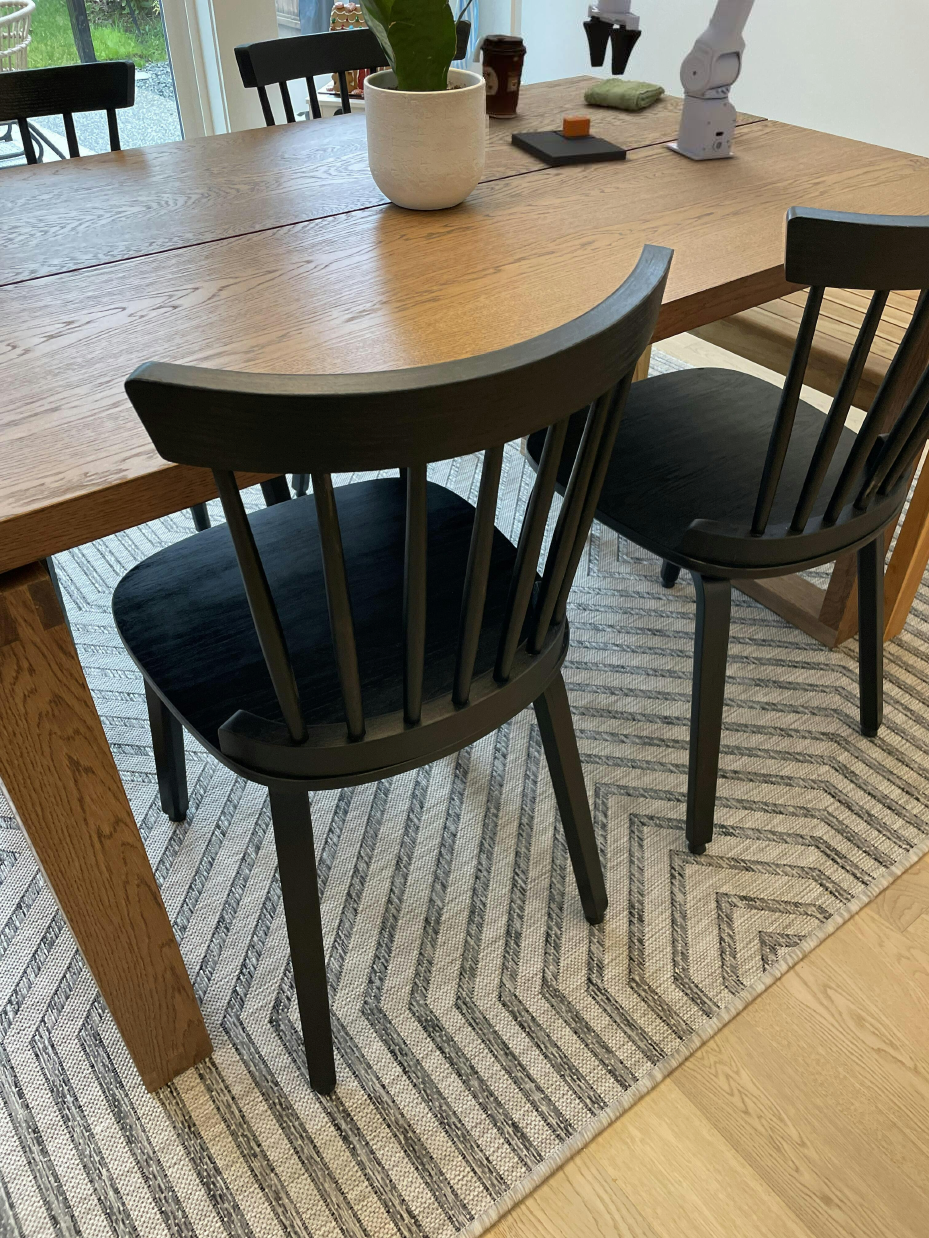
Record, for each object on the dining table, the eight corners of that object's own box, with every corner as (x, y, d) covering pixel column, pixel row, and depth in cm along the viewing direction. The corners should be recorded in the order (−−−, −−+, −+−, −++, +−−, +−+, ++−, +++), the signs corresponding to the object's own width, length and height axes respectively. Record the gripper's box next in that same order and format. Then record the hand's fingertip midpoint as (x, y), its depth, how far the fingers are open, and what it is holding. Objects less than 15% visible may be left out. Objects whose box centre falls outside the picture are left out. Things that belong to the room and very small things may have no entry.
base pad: (625, 160, 156) (627, 150, 155) (552, 166, 152) (553, 157, 151) (580, 137, 167) (581, 128, 166) (511, 143, 163) (511, 133, 162)
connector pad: (595, 146, 162) (598, 121, 160) (568, 148, 161) (570, 123, 158) (580, 139, 166) (583, 114, 164) (554, 141, 164) (556, 116, 162)
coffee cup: (484, 121, 175) (487, 41, 166) (472, 111, 181) (474, 33, 172) (528, 119, 177) (532, 40, 168) (514, 109, 183) (518, 32, 174)
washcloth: (666, 97, 195) (669, 80, 193) (638, 113, 183) (641, 95, 181) (608, 90, 199) (610, 73, 197) (577, 105, 187) (579, 87, 185)
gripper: (576, -25, 162) (568, 64, 170) (618, -15, 151) (607, 79, 160) (611, -26, 164) (602, 62, 173) (654, -15, 154) (642, 77, 163)
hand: (607, 70), depth 167 cm, fingers open, 7 cm apart
